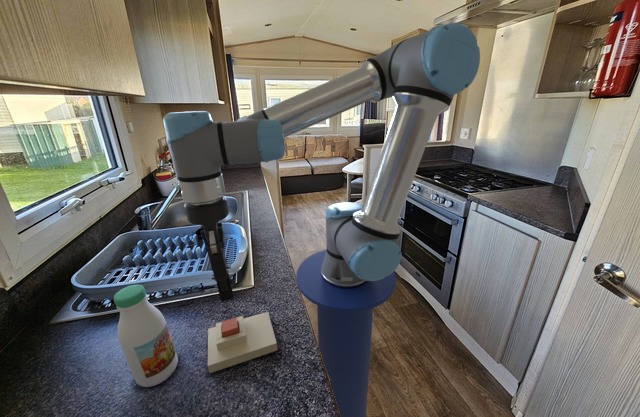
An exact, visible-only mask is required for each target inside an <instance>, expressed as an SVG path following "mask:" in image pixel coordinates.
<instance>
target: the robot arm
mask: <svg viewBox="0 0 640 417" xmlns="http://www.w3.org/2000/svg"><path fill="white" fill-rule="evenodd" d="M480 49H481V48H480V46H479V45H478V39H477V37H476V35H475V34H474V32H473V30H471V29H470V28H469V27H468V26H467V25H464V24H462V23H459V22H449V23H446V24H440V25H436V26H434V27H431V28H429V30H427V31H424V32H421V33H420V34H419V33H418V34H416V35H413V36H411V37H408V38H405V39H402V40H400V41H398V42H397V43H395V44H393V45H392V46H390V47H388V48H387V49H385V50H384V51H382V52H380V53H378V54H377V55H374V56H372V57H370V58H369V59H366V60H364V61H362V62H361V64H360V66H359V67H358V68H357V69H355V70H353V71H350V72H348V73H346V74H342V75H341V76H338V77H336V78H333V79H331V80H329V81H327V82H324V83H322V84H319V85H317V86H315V87H312V88H309V89H308V90H305V91H303V92H301V93H298V94H296V95H294V96H291V97H289V98H286V99H284V100H282V101H279V102H277V103H275V104H272V105H270V106H268V107H266V108H263V109H262V110H258V111H256V112H253V113H251V114H249V115H244V116H242V117H240V118H237V119H236V120H234V121H223V122H222V121H219V122H218V121H214V120H213V119H212V116H211V113H210V112H209V111H207V110H198V111H197V110H196V111H176V112H168V113H166V114H165V115H164V116H163V121H162V122H163V126H164V127H163V128H164V133H165V137H166V145H167V147H168V150H169V154H170V157H171V160H172V165H173V167H174V171H175V176H176V180H177V184H176V185H175V190H177V191H180V194H181V198H182V201H183V202H184V204H183V207H184V211H185V215H186V219H187V221H188V223H190V224H191V225H194V226H198V225H199V226H200V229H201V230H200V236H201V239H202V240H203V242H204V247H205V251H206V254H207V255H208V259H209V263H210V266H211V269H212V273H213V274H212V275H211V280H212V281H213V280H214V281H215V282H216V286H217V291H218V294H219V299H220V302H221V303H223V302H225V301H230V300H233V299H235V295H234V291H233V286H232V282H231V281H232V280H231V277H230V276H231V275H230V272H229V270H231V269H232V266H231V263H230V264H227V258H226V253H225V240H224V238H225V237H224V227H223V223H222V221H223V220H225V219H227V217H228V216H229V214H230V209H229V204H228V199H227V197H226V196H225V195H226V193H227V192H226V187H225V186H226V185H225V182H224V177H223V173H222V168H221V166H229V165H230V166H232V165H244V164H254V163H269V162H273V161H279V160H282V159H283V158H284V156H285V151H286V150H285V148H286V147H285V146H286V145H285V138H287V137H290V136H292V135H294V134H297V133H299V132H301V131H304V130H306V129H308V128H310V127H312V126H315V125H317V124H319V123H322V122H324V121H326V120H329V119H330V118H334V117H336V116H338V115H340V114H342V113H345V112H347V111H349V110H352V109H354V108H356V107H359V106H361V105H363V104H365V103H367V102H371V103H374V104H376V103H379V102H380V101H383V100H385V99H390V98H393V100H394V103H395V105H396V106H395V111H394V113H393V116H392V118H391V121H390V125H389V127H388V131H387V134H386V137H385V140H384V142H383V144H382V149H381V150H380V154H379V157H378V161H377V163H376V167H375V169H374V172H373V175H372V178H371V181H370V185H369V187H368V189H367V193H366V195H365V199H364V202H363V203H359V202H354V201H353V202H350V201H348V202H347V201H346V202H337V203H334V204H333V203H332V204H331V205H329V206H328V207H327V208H326V210H325V238H326V241H325V242H326V250H327V252H326V255H325V257H324V260H323V263H322V267H321V276H322V278H323V280H324V281H325V282H326V283H328V284H329V285H331V286H334V287H337V288H342V289H351V288H357V287H360V286H362V285H364V284H365V283H366V282H367V281H377V280H381V279H383V278H384V277H386V276H389V275H390V274H391V273H393V272H395V271H396V270H397V268H398V267H399V266H400V263H401V261H402V257H403V256H402V251H401V248H400V246H399V245H398V243H397V242H398V240H399V237H400V236H401V235H400V234H401V232H402V229H401V227H400V225H399V222H398V221H399V219H400V216H401V213H402V210H403V208H404V205H405V202H406V200H407V198H408V195H409V192H410V189H411V186H412V183H413V181H414V179H415V177H416V173H417V171H418V168H419V166H420V164H421V161H422V158H423V155H424V153H425V150H426V147H427V145H428V142H429V140H430V137H431V135H432V133H433V129H434V127H435V124H436V122H437V119H438V117H440V116H441V114H444V113H446V112H447V111H449V109H450V107H451V104H452V102H453V100H454V97H455V95H458V94H459V93H462V92H463V91H465V89H467V88H469V87H470V86H471V84H472V83H473V82H474V80H475V78H476V77H477V75H478V72H479V68H480V63H481V50H480Z"/></svg>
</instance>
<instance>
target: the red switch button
mask: <svg viewBox="0 0 640 417" xmlns="http://www.w3.org/2000/svg"><path fill="white" fill-rule="evenodd" d="M221 322H222V334H223V338H225V337H228V336H231V335H235V334H238V333H239V332H238V323H237V317H233V318H230V319H226V320H222V321H221Z"/></svg>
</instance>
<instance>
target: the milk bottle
mask: <svg viewBox="0 0 640 417" xmlns="http://www.w3.org/2000/svg"><path fill="white" fill-rule="evenodd" d="M147 298H148V294H147V292H146V289H145V287H144V285H142V284H131V285H127V286H125V287H123V288H121V289H119V290H118V291H117V292H115V294H114V296H113V302H114V304H115V307H116V309H117V310H119V320H118V323H117V330H116V331H117V340H118V343H119V345H120V348H121V351H122V353H123V356H124V358H125V361H126V363H127V366H128V367H129V370H130V372H131V375H132V377H133V379H134V381H135V383H136V384H137V385H138V386H140V387H143V388H149V387H154V386H157V385H159V384H161V383H163V382H164V381H166V380H167V379H169V377H170V376H172V374H173V373H174V372H175V370H176V368H177V366H178V362H179V358H178V353H177V350H176V347H175V345H174V341H173V339H172V335H171V333H170V330H169V327H168V323H167V321H166V318H165V316H164V315H163V313H162V312H161V311H160V310H159V309H158V308H157V307H156V306H154V305H153V304H151V303H150V302H149V301H148V299H147Z"/></svg>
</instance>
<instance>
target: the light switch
mask: <svg viewBox="0 0 640 417" xmlns="http://www.w3.org/2000/svg"><path fill="white" fill-rule="evenodd" d="M236 318H237V323H238V332H239V333H238V334H235V335H231V336H228V337H225V338H223V334H222V321H220V322H216V323H215V326H212V327H209V328H208V329H207V369H208V373H209V374H212V373H215V372H218V371H221V370H223V369H226V368H230V367H233V366H236V365H239V364H242V363H245V362H247V361H251V360H253V359H257V358H259V357H262V356H265V355H269V354H270V353H273V352H276V351H278V343H277V339H276V335H275V332H274V328H273V324H272V320H271V318H270V313H269V311H265V312H262V313H259V314H258V313H257V314H255V315H251V316H248V317H245V318H244V315H241V316H237V317H236Z"/></svg>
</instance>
